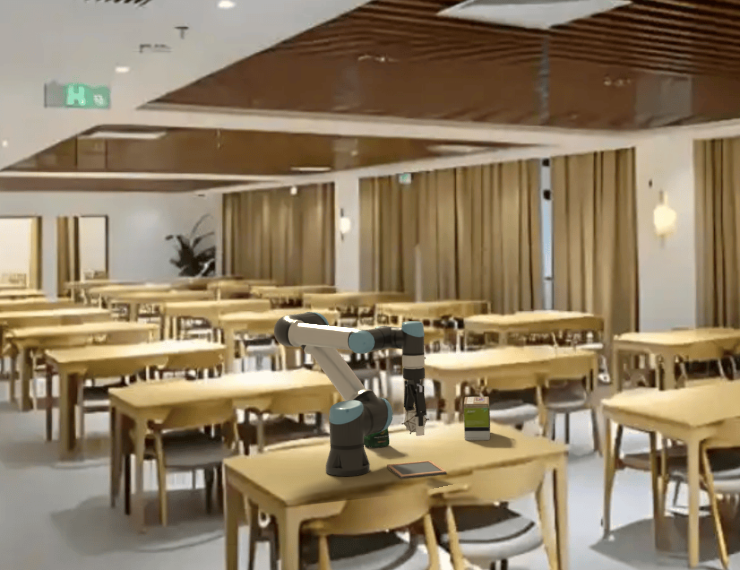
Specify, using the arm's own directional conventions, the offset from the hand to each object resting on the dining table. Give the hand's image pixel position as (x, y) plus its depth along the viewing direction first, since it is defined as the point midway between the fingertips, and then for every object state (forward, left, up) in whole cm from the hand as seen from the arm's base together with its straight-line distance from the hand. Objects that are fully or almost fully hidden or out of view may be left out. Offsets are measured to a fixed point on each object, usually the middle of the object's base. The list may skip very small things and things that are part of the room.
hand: (415, 432), depth 312 cm
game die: (0, 0, 0) cm, 1 cm away
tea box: (+40, +41, -13) cm, 59 cm away
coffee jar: (-2, +40, -13) cm, 42 cm away
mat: (0, 0, -13) cm, 13 cm away
